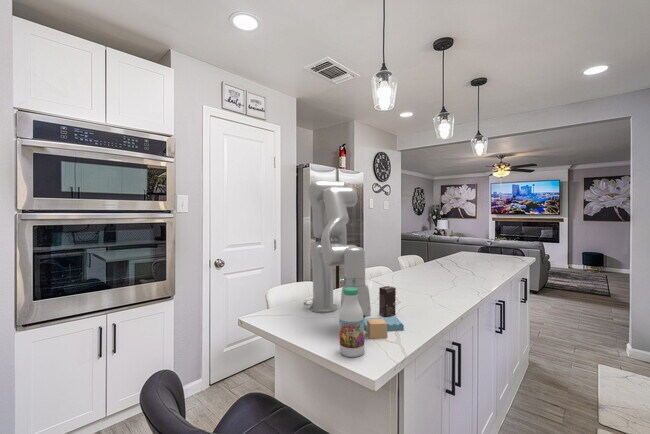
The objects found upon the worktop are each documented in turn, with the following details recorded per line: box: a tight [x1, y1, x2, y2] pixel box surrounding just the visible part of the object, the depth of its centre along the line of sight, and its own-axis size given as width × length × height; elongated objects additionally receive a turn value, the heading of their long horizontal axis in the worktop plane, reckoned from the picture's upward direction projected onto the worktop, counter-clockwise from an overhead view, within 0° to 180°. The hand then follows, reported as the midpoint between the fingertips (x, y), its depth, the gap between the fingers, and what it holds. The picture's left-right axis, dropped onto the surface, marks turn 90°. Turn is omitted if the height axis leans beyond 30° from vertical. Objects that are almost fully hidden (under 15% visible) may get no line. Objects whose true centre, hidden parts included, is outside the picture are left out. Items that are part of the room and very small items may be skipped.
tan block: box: [366, 319, 388, 339], centre depth 105 cm, size 6×5×5 cm
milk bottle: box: [338, 287, 365, 358], centre depth 92 cm, size 8×8×20 cm
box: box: [378, 285, 397, 318], centre depth 126 cm, size 6×4×12 cm
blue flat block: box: [364, 316, 405, 333], centre depth 113 cm, size 14×9×2 cm, turn 94°
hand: (355, 333), depth 104 cm, fingers closed
